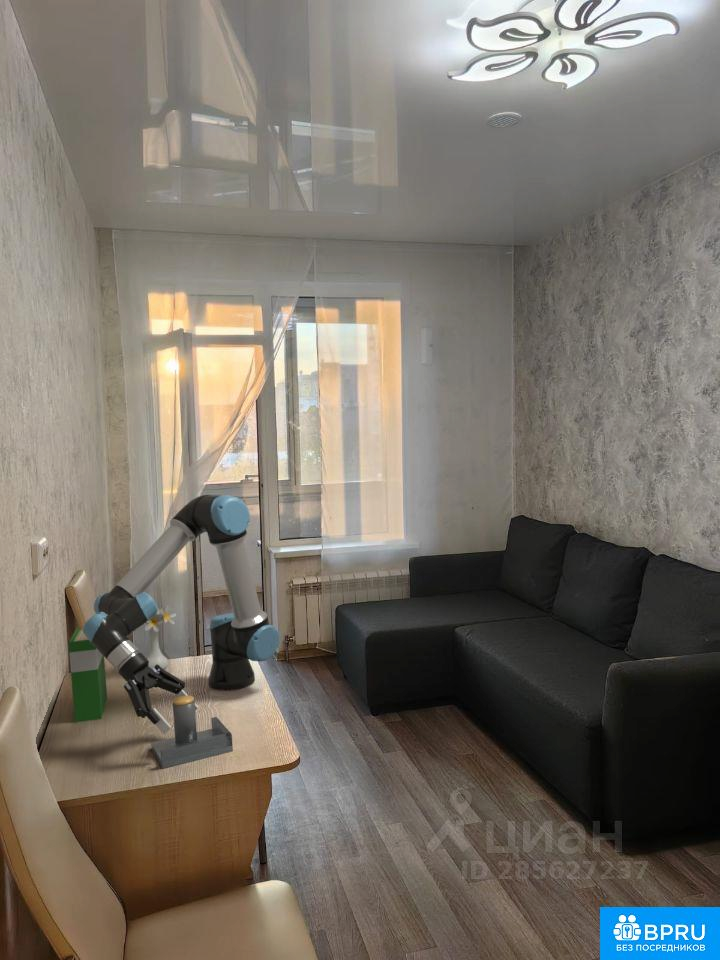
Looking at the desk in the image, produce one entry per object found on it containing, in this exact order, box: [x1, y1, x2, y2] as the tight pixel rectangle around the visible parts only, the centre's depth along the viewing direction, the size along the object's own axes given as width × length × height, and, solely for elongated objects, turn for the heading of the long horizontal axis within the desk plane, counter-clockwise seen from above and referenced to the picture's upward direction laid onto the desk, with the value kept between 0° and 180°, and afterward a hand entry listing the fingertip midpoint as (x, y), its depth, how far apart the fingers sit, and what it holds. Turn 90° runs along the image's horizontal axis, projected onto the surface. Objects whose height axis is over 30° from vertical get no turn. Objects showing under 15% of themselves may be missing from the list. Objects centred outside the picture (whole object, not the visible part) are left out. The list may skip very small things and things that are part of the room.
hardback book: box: [68, 627, 108, 723], centre depth 225 cm, size 18×7×24 cm, turn 14°
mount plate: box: [150, 716, 234, 769], centre depth 193 cm, size 18×14×4 cm
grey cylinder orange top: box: [172, 695, 198, 745], centre depth 193 cm, size 6×6×12 cm
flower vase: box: [134, 605, 177, 671], centre depth 258 cm, size 12×18×24 cm
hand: (182, 720), depth 193 cm, fingers open, 13 cm apart
